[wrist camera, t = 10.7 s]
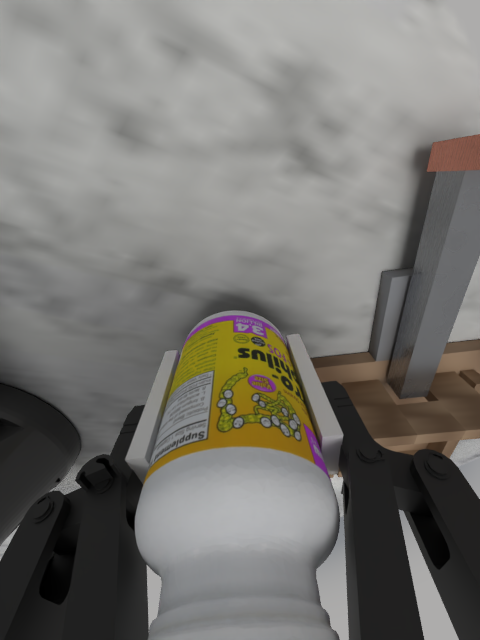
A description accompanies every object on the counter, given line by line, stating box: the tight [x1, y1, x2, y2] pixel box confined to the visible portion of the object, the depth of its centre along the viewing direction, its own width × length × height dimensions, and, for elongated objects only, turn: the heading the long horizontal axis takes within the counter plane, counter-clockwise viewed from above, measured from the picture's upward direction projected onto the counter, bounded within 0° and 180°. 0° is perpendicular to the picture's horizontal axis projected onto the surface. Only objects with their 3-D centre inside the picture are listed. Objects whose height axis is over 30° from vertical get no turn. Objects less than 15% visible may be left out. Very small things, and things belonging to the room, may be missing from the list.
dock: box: [310, 267, 480, 478], centre depth 19 cm, size 16×21×6 cm
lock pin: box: [387, 134, 480, 399], centre depth 12 cm, size 3×16×7 cm, turn 8°
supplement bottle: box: [135, 310, 340, 640], centre depth 10 cm, size 7×7×13 cm
